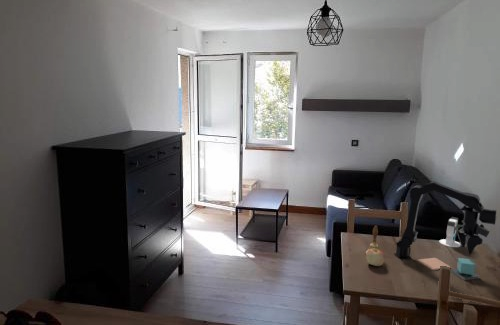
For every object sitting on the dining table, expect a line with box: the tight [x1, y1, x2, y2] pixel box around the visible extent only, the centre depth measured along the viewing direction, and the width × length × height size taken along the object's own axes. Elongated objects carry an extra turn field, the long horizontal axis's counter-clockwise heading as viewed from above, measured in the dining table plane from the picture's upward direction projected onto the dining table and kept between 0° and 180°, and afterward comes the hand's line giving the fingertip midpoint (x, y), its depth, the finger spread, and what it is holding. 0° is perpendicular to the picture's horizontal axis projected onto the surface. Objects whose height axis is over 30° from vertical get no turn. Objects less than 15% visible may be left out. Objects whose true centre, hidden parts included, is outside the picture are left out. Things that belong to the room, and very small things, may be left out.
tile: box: [417, 257, 452, 271], centre depth 198 cm, size 11×11×1 cm
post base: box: [450, 268, 481, 281], centre depth 187 cm, size 9×9×6 cm
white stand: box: [438, 216, 462, 248], centre depth 225 cm, size 12×11×15 cm
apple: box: [365, 248, 386, 267], centre depth 195 cm, size 9×9×8 cm
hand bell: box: [365, 225, 380, 255], centre depth 208 cm, size 8×8×16 cm
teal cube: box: [456, 257, 476, 275], centre depth 187 cm, size 6×6×5 cm
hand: (466, 250), depth 188 cm, fingers open, 9 cm apart
